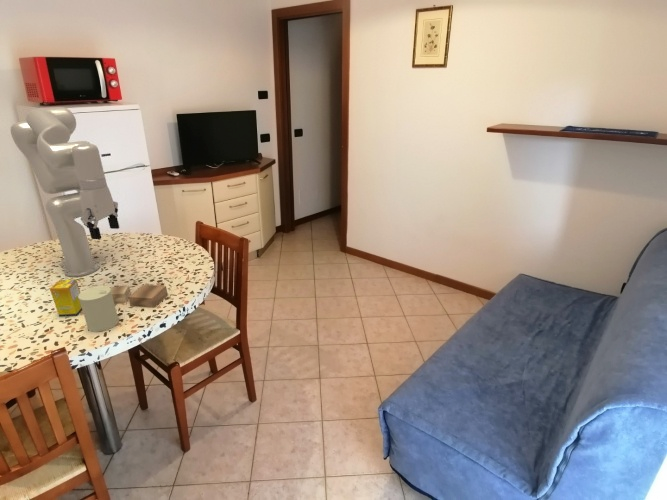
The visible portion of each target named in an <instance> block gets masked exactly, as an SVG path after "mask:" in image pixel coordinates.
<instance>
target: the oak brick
mask: <svg viewBox="0 0 667 500" xmlns="http://www.w3.org/2000/svg"><path fill="white" fill-rule="evenodd" d="M110 288H111V293H112V297H113V301H114V304H115V305H118V304H119V305H120V304H127V303H128V302H129V298H128V297H129V296H130V295H131V294H132V292H131V290H130V285H129V284H128V285H119V286H117V285H116V286H110Z"/></svg>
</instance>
